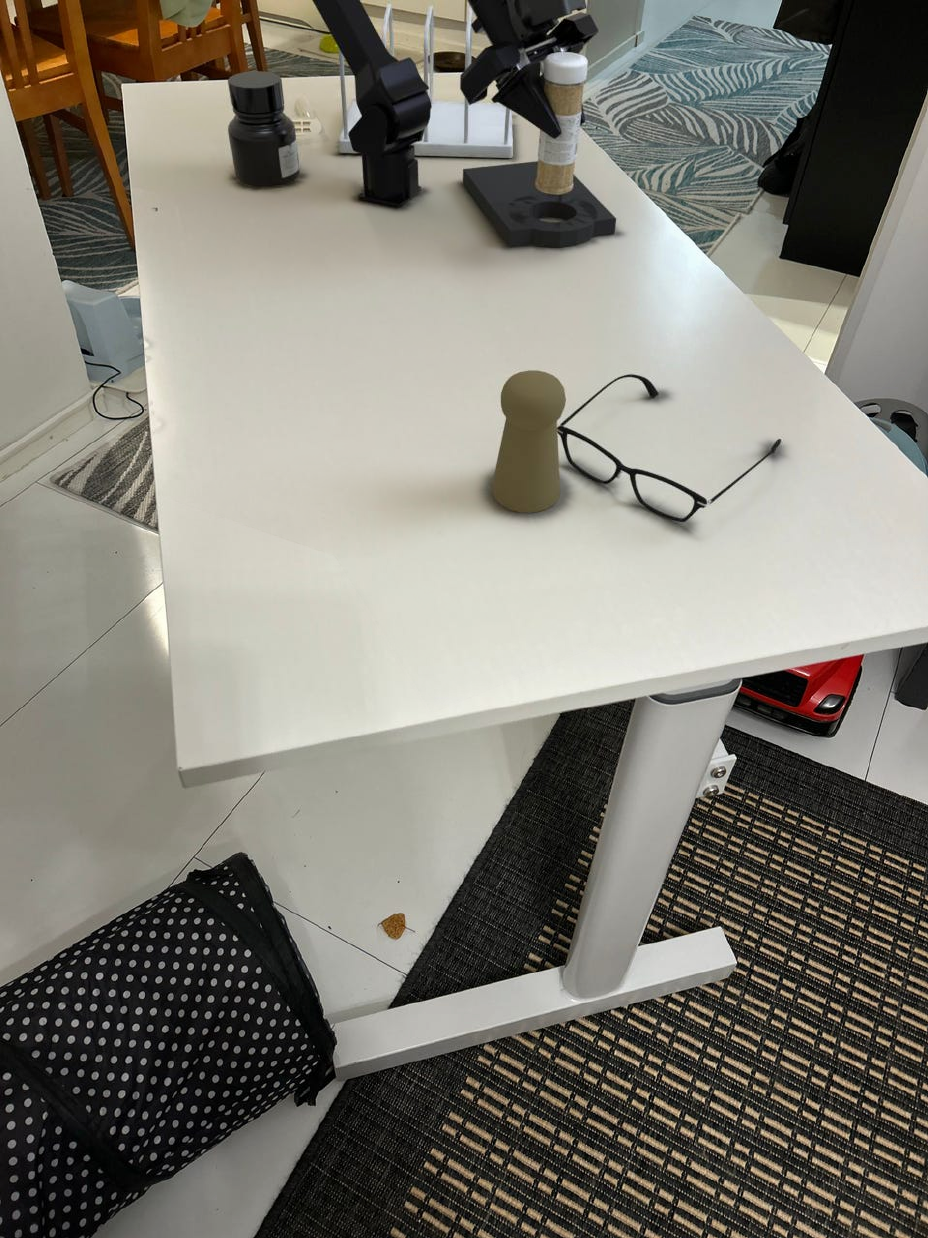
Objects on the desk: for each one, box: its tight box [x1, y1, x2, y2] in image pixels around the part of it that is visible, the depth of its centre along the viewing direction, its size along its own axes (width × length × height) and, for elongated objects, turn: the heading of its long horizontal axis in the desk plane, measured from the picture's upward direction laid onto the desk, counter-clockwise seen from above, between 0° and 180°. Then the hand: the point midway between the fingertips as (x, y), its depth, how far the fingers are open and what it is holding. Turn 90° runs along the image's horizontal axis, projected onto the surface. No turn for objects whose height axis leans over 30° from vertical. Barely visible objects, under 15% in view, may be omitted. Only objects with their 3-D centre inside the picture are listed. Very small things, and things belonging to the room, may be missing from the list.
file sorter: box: [338, 3, 514, 159], centre depth 130 cm, size 25×17×16 cm
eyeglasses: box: [557, 373, 782, 523], centre depth 81 cm, size 16×16×4 cm
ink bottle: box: [227, 70, 301, 188], centre depth 120 cm, size 10×9×12 cm
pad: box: [462, 160, 617, 248], centre depth 117 cm, size 22×14×2 cm, turn 17°
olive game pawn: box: [491, 369, 567, 514], centre depth 75 cm, size 6×6×11 cm
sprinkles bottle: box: [535, 52, 589, 195], centre depth 100 cm, size 5×5×13 cm
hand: (570, 130), depth 99 cm, fingers closed on sprinkles bottle, 4 cm apart
